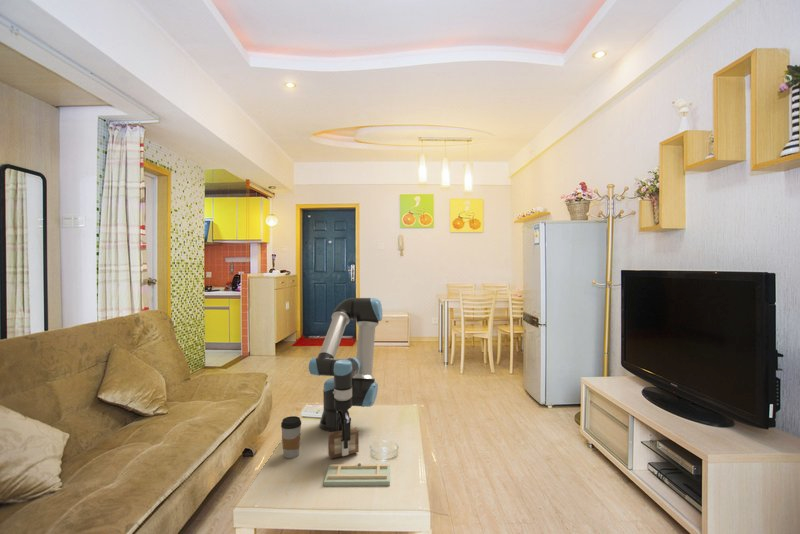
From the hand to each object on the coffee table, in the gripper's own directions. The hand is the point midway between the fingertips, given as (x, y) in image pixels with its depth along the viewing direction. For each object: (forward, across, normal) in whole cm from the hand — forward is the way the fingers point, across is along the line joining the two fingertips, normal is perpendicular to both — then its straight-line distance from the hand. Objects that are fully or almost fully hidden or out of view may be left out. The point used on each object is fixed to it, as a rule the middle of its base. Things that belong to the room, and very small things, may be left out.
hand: (343, 452), depth 164 cm
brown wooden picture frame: (0, 0, 0) cm, 0 cm away
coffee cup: (+1, -10, -20) cm, 22 cm away
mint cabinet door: (+1, +18, 0) cm, 18 cm away
